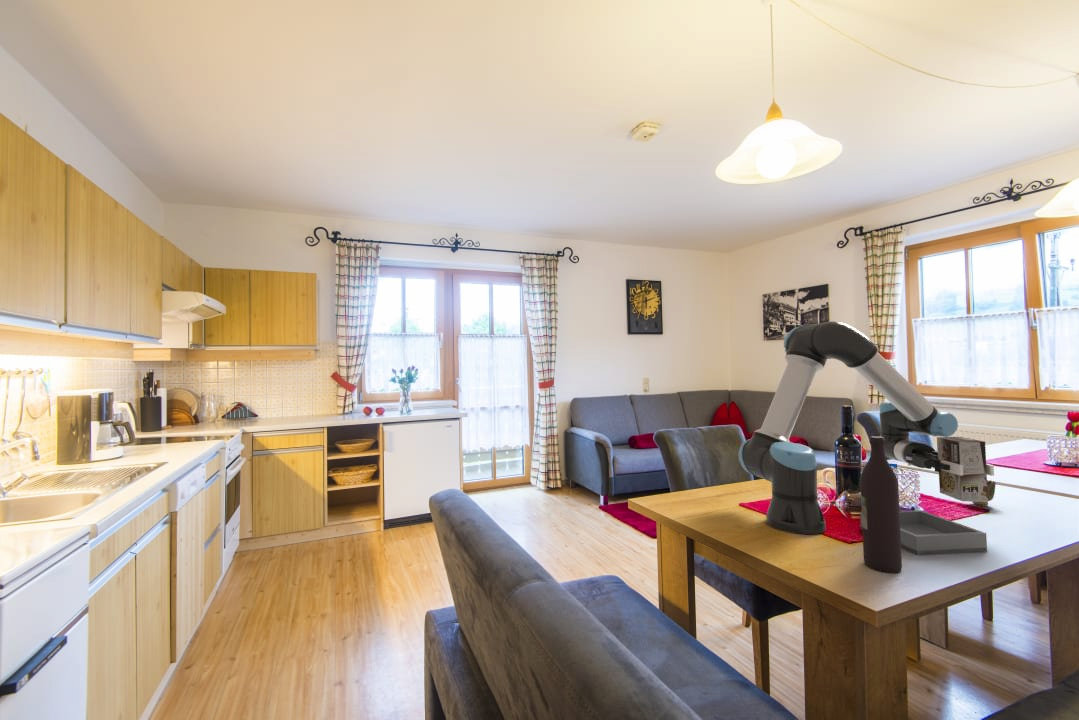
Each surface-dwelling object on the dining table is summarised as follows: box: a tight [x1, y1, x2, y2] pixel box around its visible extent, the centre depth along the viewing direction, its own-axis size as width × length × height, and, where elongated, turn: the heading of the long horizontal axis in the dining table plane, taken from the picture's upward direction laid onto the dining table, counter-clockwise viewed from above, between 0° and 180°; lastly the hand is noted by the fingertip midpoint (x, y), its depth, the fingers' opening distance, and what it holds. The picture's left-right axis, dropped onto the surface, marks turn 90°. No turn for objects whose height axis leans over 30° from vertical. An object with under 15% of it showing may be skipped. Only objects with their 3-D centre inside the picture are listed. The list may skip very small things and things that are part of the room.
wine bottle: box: [860, 435, 903, 574], centre depth 104 cm, size 7×7×30 cm
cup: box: [972, 480, 996, 507], centre depth 145 cm, size 8×7×8 cm
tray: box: [859, 509, 988, 556], centre depth 119 cm, size 18×18×4 cm
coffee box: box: [936, 436, 989, 503], centre depth 124 cm, size 9×6×16 cm
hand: (976, 470), depth 119 cm, fingers closed on coffee box, 7 cm apart
